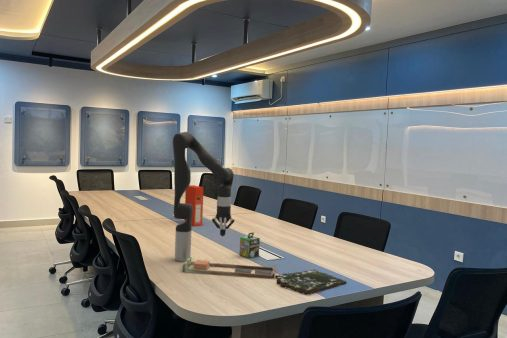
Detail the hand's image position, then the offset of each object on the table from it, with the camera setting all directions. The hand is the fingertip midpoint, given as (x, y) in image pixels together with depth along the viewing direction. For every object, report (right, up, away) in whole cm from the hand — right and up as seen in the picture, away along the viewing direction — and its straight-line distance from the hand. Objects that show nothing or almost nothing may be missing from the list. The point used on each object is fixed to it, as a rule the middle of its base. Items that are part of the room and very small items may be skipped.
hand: (222, 235), depth 217 cm
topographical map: (+44, -23, -11) cm, 51 cm away
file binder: (-34, -10, +119) cm, 124 cm away
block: (-12, -19, +2) cm, 22 cm away
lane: (+4, -19, 0) cm, 20 cm away
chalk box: (+14, -18, +32) cm, 40 cm away
